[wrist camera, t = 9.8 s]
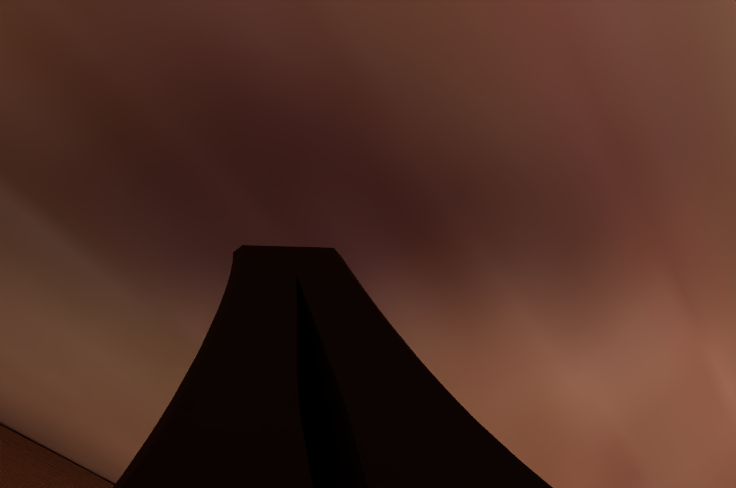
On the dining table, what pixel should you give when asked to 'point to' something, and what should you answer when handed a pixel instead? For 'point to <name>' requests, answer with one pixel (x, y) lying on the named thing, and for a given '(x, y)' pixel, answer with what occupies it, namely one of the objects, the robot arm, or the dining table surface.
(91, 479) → the block
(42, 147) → the dining table surface
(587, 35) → the dining table surface
